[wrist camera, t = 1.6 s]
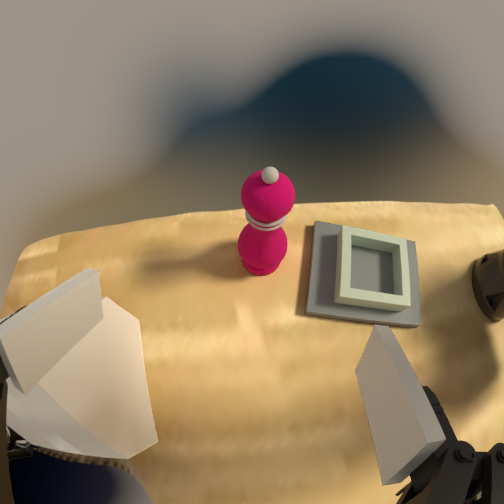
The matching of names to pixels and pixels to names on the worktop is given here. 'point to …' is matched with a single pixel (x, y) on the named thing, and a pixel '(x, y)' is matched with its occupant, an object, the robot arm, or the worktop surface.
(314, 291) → the socket board
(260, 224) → the pepper mill
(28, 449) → the french press
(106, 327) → the white notched cradle block
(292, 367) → the worktop surface
